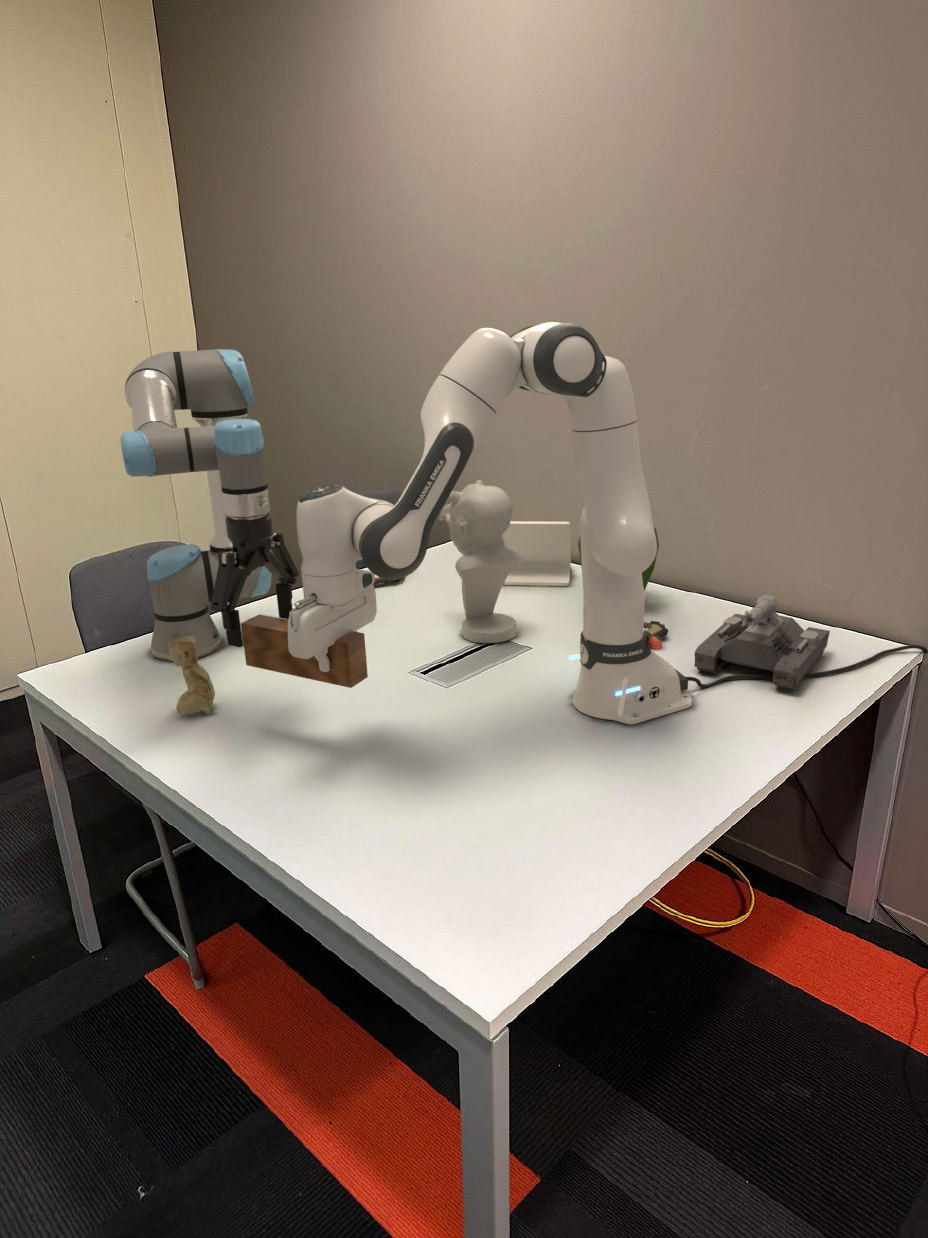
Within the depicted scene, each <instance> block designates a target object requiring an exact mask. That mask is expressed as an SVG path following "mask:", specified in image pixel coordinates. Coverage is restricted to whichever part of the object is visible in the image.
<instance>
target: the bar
mask: <svg viewBox="0 0 928 1238" xmlns="http://www.w3.org/2000/svg"><path fill="white" fill-rule="evenodd" d="M240 626H241V633H242V641H243V650H244V656H245V657H244V658H245V664H246V665H245V666H249V667H252V668H258V669H260V670H261V669H262V670H266V671H271V672H276V673H281V674H284V675H290V676H294V677H297V678H304V679H307V680H313V681H317V682H321V683H326V684H330V685H335V686H339V687H344V688H349V689H352V688H354V687H355V686H357V685H358V684H359V683H361V682H363V681H364V680H366V679H367V678H368V677H369V674H368V663H367V651H366V649H367V648H366V637H365V636H366V635H365V633H364V632H359V631H357V632H354V631H351V632H349V633H348V634H346V635H344V636H343V637H341V638H339V639H337V640H336V641H335V643H334V644H333V645H331V646H330V647H328V653H327V654H326V656H327V657H328V659H331V660H332V662H333V664H332V665H333V668H332V669H331V670H330V671H328V672H322V671H320V669H319V661H317V659H316V658H315V656H313V657H311V658H309V659H303V658H297V657H294V656H292V655H291V654H290V652H289V649H288V619H283V618H279V617H275V616H270V615H265V614H260V613H259V614H257V615H254V616H252V617H251V618H248V619H247V620H245V621H242V622H240Z"/></svg>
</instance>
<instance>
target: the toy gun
mask: <svg viewBox="0 0 928 1238" xmlns="http://www.w3.org/2000/svg"><path fill="white" fill-rule="evenodd" d="M397 580H401V578H399V579H385V578H381V577H379V576H377V577H375V582H374V584H372V585H373V586H377V585H380V584H385V583H388V582H391V581H392V582H393V581H397Z"/></svg>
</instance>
